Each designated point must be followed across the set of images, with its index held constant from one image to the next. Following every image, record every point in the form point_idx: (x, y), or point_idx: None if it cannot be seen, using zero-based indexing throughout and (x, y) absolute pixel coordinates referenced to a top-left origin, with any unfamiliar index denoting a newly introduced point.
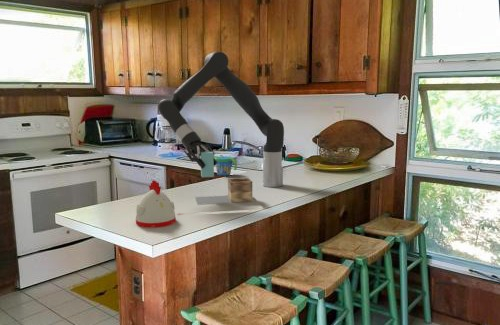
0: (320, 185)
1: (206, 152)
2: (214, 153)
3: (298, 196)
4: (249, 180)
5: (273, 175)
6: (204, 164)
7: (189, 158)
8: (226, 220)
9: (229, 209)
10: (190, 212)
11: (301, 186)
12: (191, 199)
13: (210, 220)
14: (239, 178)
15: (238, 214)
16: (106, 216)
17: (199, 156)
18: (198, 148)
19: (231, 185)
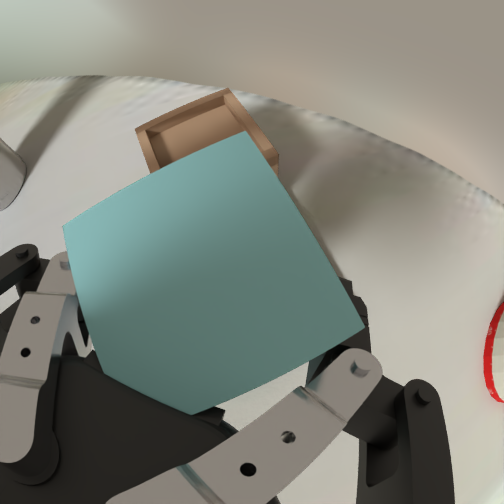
0: (35, 97)
1: (170, 284)
2: (19, 248)
3: (131, 82)
4: (200, 103)
5: (5, 154)
6: (347, 281)
7: (393, 474)
8: (446, 172)
9: (347, 193)
10: (430, 312)
11: (33, 121)
12: (231, 412)
13: (466, 212)
14: (152, 155)
15: (387, 154)
16: (484, 493)
17: (334, 371)
18: (201, 491)
19: (277, 161)
